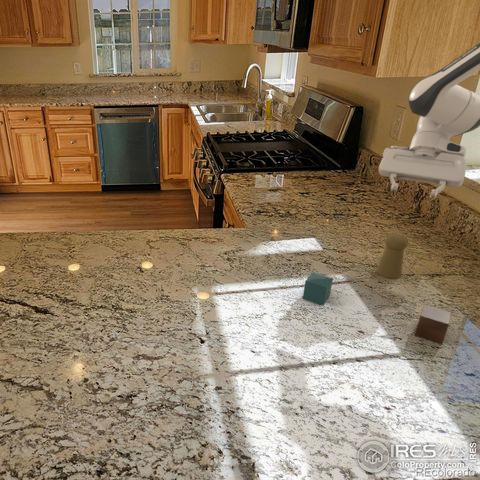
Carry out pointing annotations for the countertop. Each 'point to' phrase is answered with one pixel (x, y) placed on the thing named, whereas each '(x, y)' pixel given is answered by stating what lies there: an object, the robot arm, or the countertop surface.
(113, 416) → the countertop surface
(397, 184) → the robot arm
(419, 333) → the block walnut
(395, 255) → the cork
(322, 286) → the block teal
